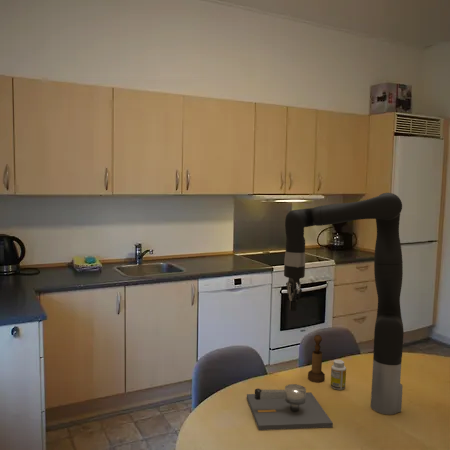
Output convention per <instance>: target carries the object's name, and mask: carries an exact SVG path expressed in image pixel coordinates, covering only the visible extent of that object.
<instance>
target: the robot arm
mask: <svg viewBox="0 0 450 450" xmlns="http://www.w3.org/2000/svg"><path fill="white" fill-rule="evenodd" d="M402 210H403V203H402V199H401V198H400V197H399V196H398V195H397V194H395V193H392V192H384V193H381V194H378V196H375V197H371V198H367V199H363V200H359V201H353V202H341V203H332V204H326V205H318V206H314V207H310V208H300V209H293V210H290V211H288V213H287V214H286V216H285V221H284V226H285V227H284V228H285V229H284V231H285V237H286V238H285V239H286V240H285V254H284V264H283V265H284V266H283V267H284V268H283V275H284V277H285V278H288V280H287V282H286V284H285V286H286V292H287V297H288V299H289V310H290V311H291V312H296V311H297V304H298V302H299V300H300V298H301V295H302V292H303V289H302V288H301V282H300V281H301V280H300V279H303V278H304V277H306V276H305V275H306V238H305V237H304V235H305V228H310V227H315V226H317V227H319V226H320V227H323V226H329V225H335V224H341V223H346V222H347V223H348V222H352V221H358V220H375V225H376V239H375V246H374V257H373V262H374V263H373V265H374V266H373V271H374V273H373V274H374V275H373V276H374V283H375V288H376V294H377V309H376V310H377V311H376V319H375V325H374V333H373V336H374V337H373V352H372V353H373V354H372V355H373V356H372V375H371V377H372V379H371V393H370V408H371V409H372V410H373V411H374V412H376V413H379V414H382V415H389V416H390V415H396V414H398V413H401V412H402V405H403V404H402V403H403V387H404V386H403V384H402V383H401V375H402V360H403V359H402V358H403V347H404V334H405V333H404V323H403V319H402V318H403V317H402V312H401V311H402V310H401V294H402V293H401V292H402V285H403V276H404V275H403V271H404V270H403V262H404V261H403V253H402V245H401V239H400V219H401V218H400V217H401V213H402Z"/></svg>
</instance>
